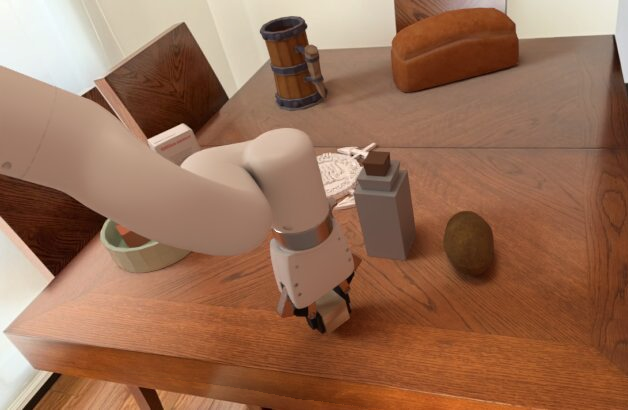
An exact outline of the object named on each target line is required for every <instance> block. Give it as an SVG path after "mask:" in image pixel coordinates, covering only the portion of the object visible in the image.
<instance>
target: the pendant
mask: <svg viewBox="0 0 628 410" xmlns="http://www.w3.org/2000/svg"><path fill="white" fill-rule="evenodd" d="M376 147H377V144H376V143H375V142H372V143H370V144H369V145H367V146H365V147H364V148H362V149H359V146H345V147H341V148H337V149H336V151H337V153H335V152H334V153H332V152H323V153H322V154H320V155H317V156H316V157H317V161H318V165H319V169H320V173H321V177H322V181H323V184H324V188H325V192H326V196H327V199H329V198H331V197H334V198H335V199H336V201H337V200H339V199H342V198H344V197H345V196H346V197H345V198H344V199H343V200H342V201H339V202H338V203H337V206H336V207H334V209H333V210H332V211H339V210H346V209H347V210H348V209H351V208H352V209H353V208H355V207H356V204H355V199H354V195H353V193H354V191H355V189H356V187H357V185H358V184H359V183H358V181H357V180H356V178H357V177H358V175H359V173H360V171H361V170H362V168H363V166H361V165H360V163H359V161H358V159H360V158H362V159H363V160H365V158H366V156H367V155H368V153H369V151H373V150H374V149H375V148H376ZM352 155H353V156H352ZM347 195H350V196H351V197H349V196H347Z"/></svg>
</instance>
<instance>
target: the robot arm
mask: <svg viewBox="0 0 628 410" xmlns="http://www.w3.org/2000/svg"><path fill="white" fill-rule="evenodd" d="M317 157H318V156H317V153H316V149H315V147H314V143H313V140H312V139H311V137H310V136H309V135H308V134H307V133H306V132H304V131H303V130H300V129H298V128H294V127H281V128H275V129H271V130H268V131H265V132H264V133H261V134H260V135H258V136H257V137H255V138H254V139H250V140H245V141H241V142H236V143H231V144H226V145H225V144H224V145H219V146H213V147H208V148H204V149H201V151H199V152H196V153H194V154H193V155H191V156H189V157H188V158H187V159H186V160H185V161H184V162H183V163H182V164H181V166H180V167H179V166H178V165H176V164H174V163H172V162H170V161H169V160H167V159H165V158H164V157H162V156H161V155H159V154H158V153H156V152H155V151H153V150H152V149H151V147H150V146H149V145H147V144H146V143H145V142H143V141H142V140H141V139H140V138H139V137H138V136H137V135H135V134H134V133H133V132H132V131H131V130H130V129H129V127H127V126H126V125H125V124H124V123H123V122H122V121H121V120H120V119H119V118H118V117H116V116H115V115H114V114H112V113H111V112H110V111H109V110H108V109H106V108H105V107H103V106H102V105H100V104H99V103H98V102H96V101H94V100H92V99H89V98H87V97H85V96H82V95H79V94H77V93H73V92H71V91H69V90H65V89H63V88H61V87H58V86H55V85H53V84H49V83H47V82H44V81H43V80H39V79H37V78H35V77H32V76H29V75H27V74H24V73H21V72H20V71H17V70H14V69H11V68H9V67H6V66H4V65H1V64H0V175H3V176H7V177H10V178H14V179H18V180H21V181H26V182H29V183H33V184H36V185H40V186H44V187H47V188H51V189H54V190H57V191H60V192H62V193H64V194H65V195H68V196H69V197H72V198H73V199H75V200H76V201H78V202H79V203H80V204H82V205H83V206H85V207H86V208H88V209H89V210H92V211H93V212H95V213H97V214H99V215H101V216H102V217H105V218H107V219H108V218H109V219H110V220H112V221H114V222H116V223H117V224H119V225H121V226H123V227H125V228H127V229H128V230H130V231H133V232H135V233H137V234H139V235H141V236H143V237H145V238H148V239H150V240H153V241H156V242H158V243H161V244H165V245H168V246H172V247H176V248H180V249H184V250H189V251H191V252H193V253H197V254H198V253H199V254H203V255H208V256H214V257H215V256H216V257H237V256H241V255H245V254H247V253H249V252H252V251H254V250H255V249H257V248H258V247H260V245H262V244H263V243H264V242H265V240H266V239H267V238H268V236H269V234H270V232H272V235H273V238H272V239H271V240H270V241H269V253H270V260H271V266H272V271H273V275H274V279H275V282H276V285H277V288H278V290H279V292H280V297H279V300H278V303H277V308H276V310H275V311H276V314H277V315H278V316H280V318H281V319H287V318H291V317H294V316H295V317H296V318H305V321H306V323H307V325H308V327H309V328H310V329H311V330H312V331H315V330H316V331H318V332H319V333H320V334H321V335H324V334H325V333H326V332H325V331H326V330H325V327H324V324H323V321H322V318H321V315H320V313H319V312H318V311H316V300H318V299H319V298H321V297H322V296H324V295H325V294H326V293H328V292H329V291H330V290H333V291H335V292H336V293H337V294H338V295H339V296H340V297H342V298H343V299H344V300H345V302H346V305H347V309H348V313H349V315H350V314H351V313H352V309H351V306H350V304H351V298H350V295H349V293H350V292H351V285H350V284H351V283H352V281H353V278H354V276H355V272H357V270H358V268H359V267H360V265H361V264H362V262H363V259H362V258H361V257H359V255H357V254H356V253H354V252H352V251H351V247H350V245H349V242H348V240H347V238H346V235H345V233H344V231H343V229H342V227H341V225H340V223H339V222H338V220H337V218H336V217H335V216H333V211H334V210H333V209H334V207H336V206H337V204H338V201H337V200H336V199H335V198H334V197H331V198H329V199H327V196H326V192H325V188H324V184H323V181H322V177H321V173H320V169H319V165H318V161H317Z"/></svg>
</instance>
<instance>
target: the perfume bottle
mask: <svg viewBox="0 0 628 410" xmlns="http://www.w3.org/2000/svg"><path fill="white" fill-rule="evenodd" d="M362 165H363V166H362V167H363V168H362V170H361V171H360V173H359V175H358V177H357V178H356V180H357V181H358V183H359V184H358V185H357V187H356V188H355V189H354V190H355V191H354V193H353V195H354V199H355V204H356V206H355V207H356V212H357V216H358V220H359V225H360V229H361V235H362V238H363V242H364V246H365V251H366V256H368V257H376V258H381V259H388V260H389V259H391V260H397V261H407V259H408V256H409V253H410V251H411V248H412V245H413V244H414V240H415V238H416V235H417V229H416V220H415V214H414V208H413V201H412V200H413V199H412V192H411V185H410V178H409V171H408V169H401V168H400V166H401V160H396V159H391V152H390V151H380V150H379V151H377V150H370V151H369V153H368V155H367V156H366V158H365V159H363V161H362ZM353 195H352V196H353Z"/></svg>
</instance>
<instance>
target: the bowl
mask: <svg viewBox="0 0 628 410" xmlns="http://www.w3.org/2000/svg"><path fill="white" fill-rule="evenodd" d="M117 225H119V224H117V223H116V222H114V221H112V220H110V219H109V218H107V219H106V220H105V222H104V224H103V225H102V228H101V230H100V233H99V234H100V238H99V239H100V242H101V243H102V245H103V246H104V248H105V249H106V250H107V252H108V254H109V255H110V257H111V258H112V259H113V261H114V262H115V264H116V265H117V267H118V268H120V269H121V270H123V271H125V272H128V273H135V274H143V273H149V272H155V271H158V270H161V269H164V268H167V267H170V266H172V265H174V264H175V263H177V262H179V261H181V260H182V259H184V258H185V257H187V256H188V255H189V254H190V253H192V251H189V250H184V249H180V248H176V247H172V246H168V245H165V244H161V243H158V242H156V241H153V240H150V241H149V242H147V243H145V244H143V245H141V246H140V247H135V248H129V247H128V245H127V244H126V243H125V241H124V240H123V238H122V237H121V235H120V234H119V232H118V230H117V229H116V227H115V226H117Z"/></svg>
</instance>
